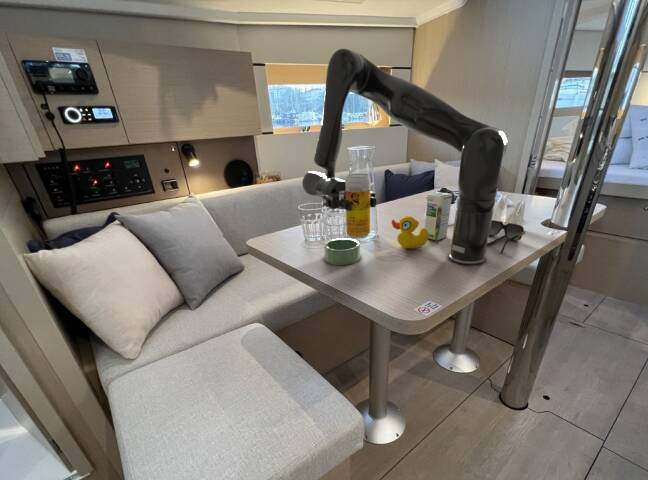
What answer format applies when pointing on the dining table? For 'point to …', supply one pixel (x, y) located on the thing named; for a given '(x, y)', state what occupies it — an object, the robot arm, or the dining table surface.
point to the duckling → (410, 233)
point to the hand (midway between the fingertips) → (362, 204)
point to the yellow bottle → (358, 205)
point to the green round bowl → (342, 251)
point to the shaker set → (501, 212)
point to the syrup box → (437, 215)
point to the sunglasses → (507, 231)
